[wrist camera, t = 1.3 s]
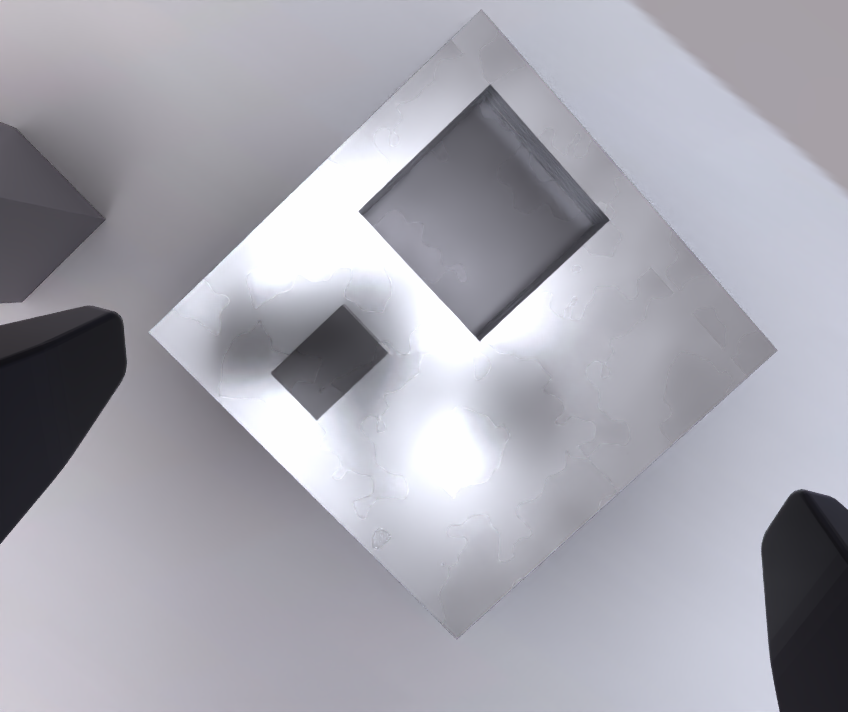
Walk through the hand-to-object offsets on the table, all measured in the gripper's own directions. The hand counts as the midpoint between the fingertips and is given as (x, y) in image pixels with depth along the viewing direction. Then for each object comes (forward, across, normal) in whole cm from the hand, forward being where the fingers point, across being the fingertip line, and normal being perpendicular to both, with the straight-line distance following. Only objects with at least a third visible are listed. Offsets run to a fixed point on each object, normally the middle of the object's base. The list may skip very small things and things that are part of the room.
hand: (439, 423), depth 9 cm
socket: (+13, 0, +6) cm, 14 cm away
